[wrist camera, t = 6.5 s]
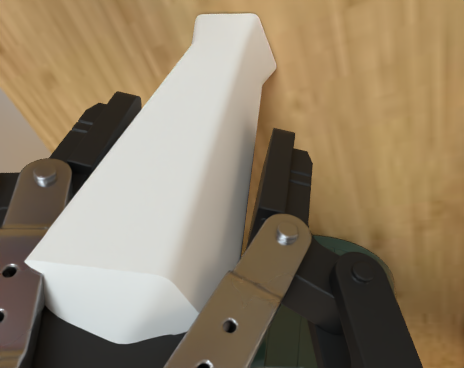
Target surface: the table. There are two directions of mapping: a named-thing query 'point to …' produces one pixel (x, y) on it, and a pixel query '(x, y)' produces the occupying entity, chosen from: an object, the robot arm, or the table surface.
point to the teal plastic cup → (301, 323)
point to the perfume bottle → (165, 195)
